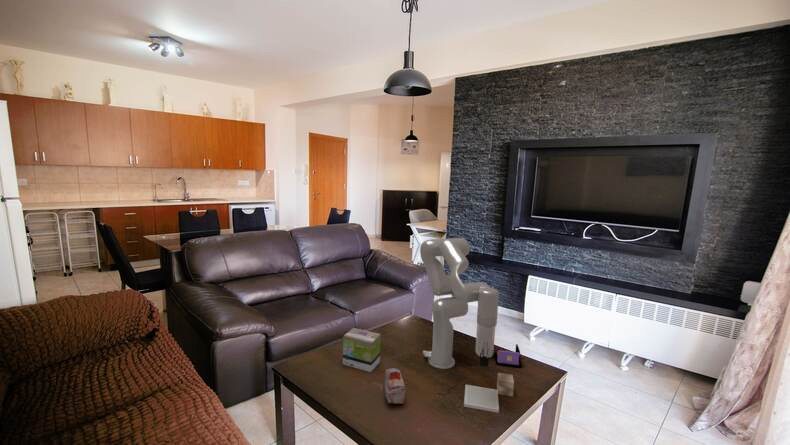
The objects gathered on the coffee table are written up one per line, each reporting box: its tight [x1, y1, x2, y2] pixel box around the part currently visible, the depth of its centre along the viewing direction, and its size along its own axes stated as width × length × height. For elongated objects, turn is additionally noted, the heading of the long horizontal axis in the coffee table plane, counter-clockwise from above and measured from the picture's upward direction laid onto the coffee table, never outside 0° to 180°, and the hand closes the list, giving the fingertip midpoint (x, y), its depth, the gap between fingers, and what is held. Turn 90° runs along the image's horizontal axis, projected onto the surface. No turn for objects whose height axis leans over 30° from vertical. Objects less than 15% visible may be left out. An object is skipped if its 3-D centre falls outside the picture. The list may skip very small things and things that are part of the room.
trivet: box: [463, 384, 500, 414], centre depth 139 cm, size 13×13×1 cm
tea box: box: [342, 327, 382, 373], centre depth 161 cm, size 15×10×15 cm
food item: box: [383, 367, 406, 405], centre depth 139 cm, size 14×8×10 cm, turn 11°
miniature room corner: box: [493, 343, 523, 369], centre depth 170 cm, size 12×12×7 cm
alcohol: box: [475, 323, 496, 359], centre depth 173 cm, size 9×9×30 cm
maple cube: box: [496, 372, 515, 397], centre depth 145 cm, size 6×6×6 cm
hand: (483, 363), depth 137 cm, fingers closed
